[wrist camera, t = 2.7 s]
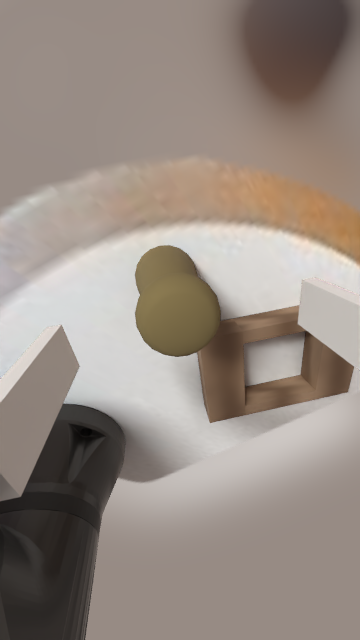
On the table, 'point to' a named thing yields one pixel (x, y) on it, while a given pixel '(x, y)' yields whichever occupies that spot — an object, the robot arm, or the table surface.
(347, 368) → the brown picture frame
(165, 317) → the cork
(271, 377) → the table surface
